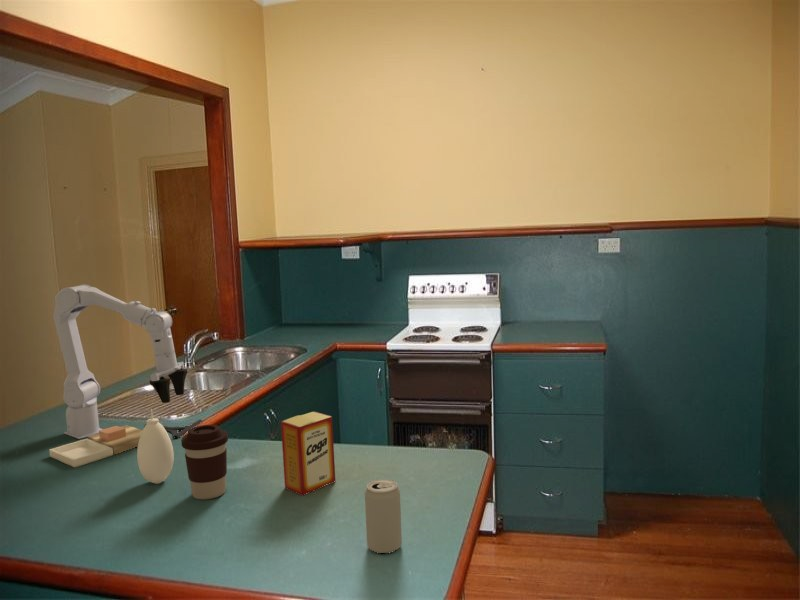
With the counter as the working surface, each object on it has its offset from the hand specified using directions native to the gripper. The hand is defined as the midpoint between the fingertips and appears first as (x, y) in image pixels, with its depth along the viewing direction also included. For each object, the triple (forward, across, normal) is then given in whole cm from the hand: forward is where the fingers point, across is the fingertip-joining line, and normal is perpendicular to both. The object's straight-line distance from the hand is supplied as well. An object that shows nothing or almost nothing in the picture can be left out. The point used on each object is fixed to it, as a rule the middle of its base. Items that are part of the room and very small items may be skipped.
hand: (173, 398), depth 185 cm
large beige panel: (+9, -10, +12) cm, 18 cm away
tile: (+6, -12, +13) cm, 19 cm away
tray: (+8, -20, +17) cm, 28 cm away
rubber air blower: (+12, -34, -14) cm, 39 cm away
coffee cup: (+13, -39, -29) cm, 51 cm away
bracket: (+11, +2, +5) cm, 12 cm away
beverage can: (+18, -57, -74) cm, 95 cm away
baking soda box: (+16, -32, -51) cm, 62 cm away
